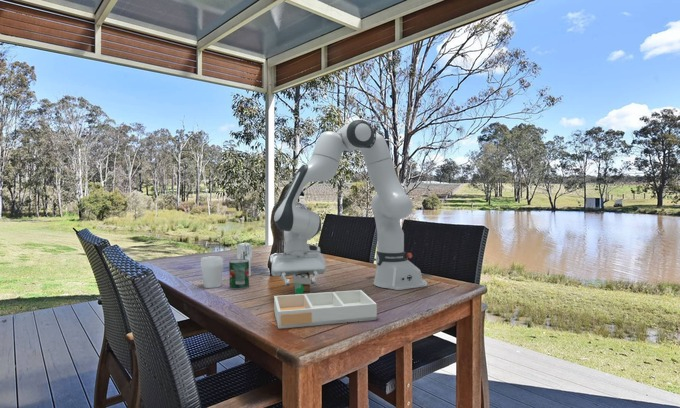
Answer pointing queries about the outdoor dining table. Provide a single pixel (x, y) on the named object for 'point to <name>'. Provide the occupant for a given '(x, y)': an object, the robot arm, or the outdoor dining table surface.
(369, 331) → the outdoor dining table surface
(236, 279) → the canned tomato
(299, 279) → the food container
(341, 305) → the tray
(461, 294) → the outdoor dining table surface
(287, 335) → the outdoor dining table surface
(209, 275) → the cup
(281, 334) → the outdoor dining table surface
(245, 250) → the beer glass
